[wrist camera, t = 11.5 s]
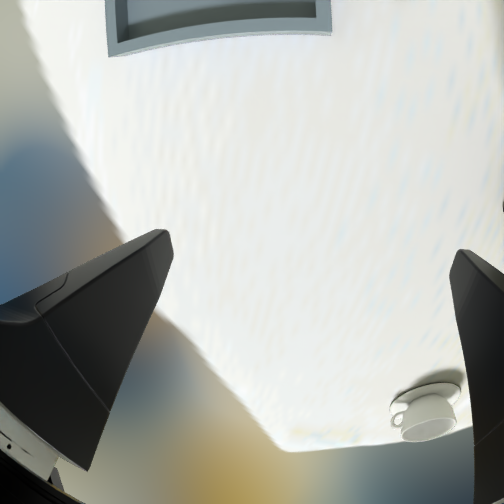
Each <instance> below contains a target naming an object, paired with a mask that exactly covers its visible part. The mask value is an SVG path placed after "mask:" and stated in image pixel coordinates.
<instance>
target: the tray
mask: <svg viewBox="0 0 504 504" xmlns="http://www.w3.org/2000/svg"><path fill="white" fill-rule="evenodd" d="M105 15H106V32H107V45H108V57H118V56H127V55H131V54H135V53H139V52H143V51H147V50H152V49H157V48H162V47H167V46H172V45H177V44H183V43H189V42H196V41H203V40H211V39H219V38H229V37H240V36H255V35H282V34H304V35H330V36H331V33H332V16H331V0H105Z"/></svg>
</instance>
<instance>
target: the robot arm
mask: <svg viewBox="0 0 504 504" xmlns="http://www.w3.org/2000/svg"><path fill="white" fill-rule="evenodd" d="M503 212H504V208H503ZM173 255H174V253H173V247H172V243H171V238H170V234H169V232H168V231H167V230H165V229H155V230H153V231H150V232H148V233H146V234H144V235H142V236H140V237H138V238H135V239H133V240H131V241H129V242H127V243H125V244H123V245H121V246H119V247H117V248H115V249H112V250H110V251H108V252H106V253H105V254H102V255H100V256H98V257H97V258H94V259H92V260H90V261H88V262H86V263H84V264H82V265H80V266H78V267H76V268H74V269H72V270H71V271H69V273H68V272H67V273H65V274H63V275H61V276H59V277H57V278H55V279H53V280H51V281H49V282H47V283H45V284H43V285H41V286H39V287H37V288H35V289H33V290H31V291H29V292H27V293H24V294H22V295H20V296H18V297H16V298H14V299H12V300H10V301H8V302H6V303H4V304H1V305H0V504H85V503H83V502H81V501H79V500H77V499H76V498H74V497H72V496H71V495H69V494H67V493H65V492H64V489H63V486H62V483H61V480H60V477H59V473H58V470H57V468H55V467H54V466H55V464H56V462H57V459H58V457H60V458H62V459H64V460H66V461H67V462H69V463H71V464H73V465H75V466H77V467H79V468H81V469H82V470H84V471H88V470H89V468H90V466H91V462H92V460H93V457H94V454H95V451H96V449H97V445H98V443H99V440H100V437H101V435H102V432H103V430H104V427H105V424H106V422H107V419H108V417H109V414H110V411H111V408H112V406H113V403H114V401H115V398H116V396H117V393H118V391H119V389H120V386H121V384H122V381H123V379H124V376H125V374H126V372H127V369H128V367H129V365H130V362H131V360H132V358H133V355H134V353H135V350H136V348H137V346H138V344H139V341H140V339H141V337H142V335H143V332H144V330H145V328H146V326H147V324H148V321H149V319H150V317H151V315H152V313H153V310H154V308H155V306H156V304H157V302H158V299H159V297H160V295H161V292H162V289H163V286H164V283H165V280H166V277H167V275H168V272H169V269H170V266H171V263H172V260H173ZM449 278H450V284H451V290H452V296H453V303H454V310H455V316H456V321H457V326H458V331H459V335H460V340H461V345H462V350H463V355H464V361H465V366H466V372H467V379H468V386H469V393H470V401H471V411H472V421H473V435H474V445H475V446H474V474H475V475H474V502H473V504H500V503H503V502H504V274H503V273H502V272H500V271H499V270H498V269H496V268H495V267H493V266H492V265H491V264H489V263H488V262H487V261H485V260H484V259H482V258H481V257H479V256H478V255H477V254H475V253H474V252H472V251H471V250H466V249H459V250H458V251H457V253H456V255H455V258H454V261H453V264H452V267H451V270H450V274H449Z"/></svg>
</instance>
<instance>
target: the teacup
mask: <svg viewBox="0 0 504 504" xmlns="http://www.w3.org/2000/svg"><path fill="white" fill-rule="evenodd" d="M460 394H461V391H460V388H459V387H458V386H456V385H454V384H450V383H435V384H430V385H425V386H422V387H419V388H416V389H413V390H411V391H409V392H407V393H405V394H403V395H401V396H400V397H398V398H397V399H396V400H395V401H394V402H393V403H392V404H391V406H390V409H389V411H390V414H391V415H392V416H393V417H392V419H391V427H392V428H393V429H395V430H399V429H401V438H402V439H403V440H405V441H408V442H421V441H427V440H431V439H434V438H437V437H440V436H442V435H444V434H446V433H448V432H449V431H451V430H452V429H453V428H454V427H455V425H456V423H457V421H456V418H455V414H454V411H453V408H452V405H453V404H454V403H455V402H456V401H457V400H458V399H459V397H460ZM395 418H398V419H402V422H401V424H399V425H395V424H394V419H395Z"/></svg>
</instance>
